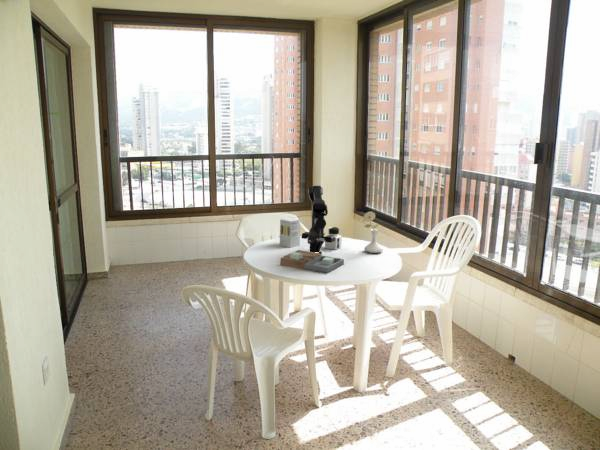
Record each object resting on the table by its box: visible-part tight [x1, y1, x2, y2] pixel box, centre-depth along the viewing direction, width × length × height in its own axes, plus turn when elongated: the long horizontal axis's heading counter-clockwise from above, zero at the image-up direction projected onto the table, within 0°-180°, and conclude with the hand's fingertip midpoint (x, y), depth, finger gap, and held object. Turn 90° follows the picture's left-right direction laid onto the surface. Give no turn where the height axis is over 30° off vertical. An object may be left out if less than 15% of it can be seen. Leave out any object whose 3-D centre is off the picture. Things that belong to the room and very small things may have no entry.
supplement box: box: [279, 217, 301, 248], centre depth 329 cm, size 10×9×17 cm
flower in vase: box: [362, 211, 384, 254], centre depth 316 cm, size 13×11×25 cm
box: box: [303, 255, 345, 274], centre depth 286 cm, size 20×14×3 cm
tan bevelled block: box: [280, 249, 323, 270], centre depth 293 cm, size 20×15×4 cm
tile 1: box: [289, 251, 303, 260], centre depth 288 cm, size 5×5×2 cm
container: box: [324, 226, 343, 251], centre depth 325 cm, size 8×8×13 cm
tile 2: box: [322, 256, 335, 265], centre depth 291 cm, size 5×5×2 cm
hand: (318, 252), depth 293 cm, fingers closed
